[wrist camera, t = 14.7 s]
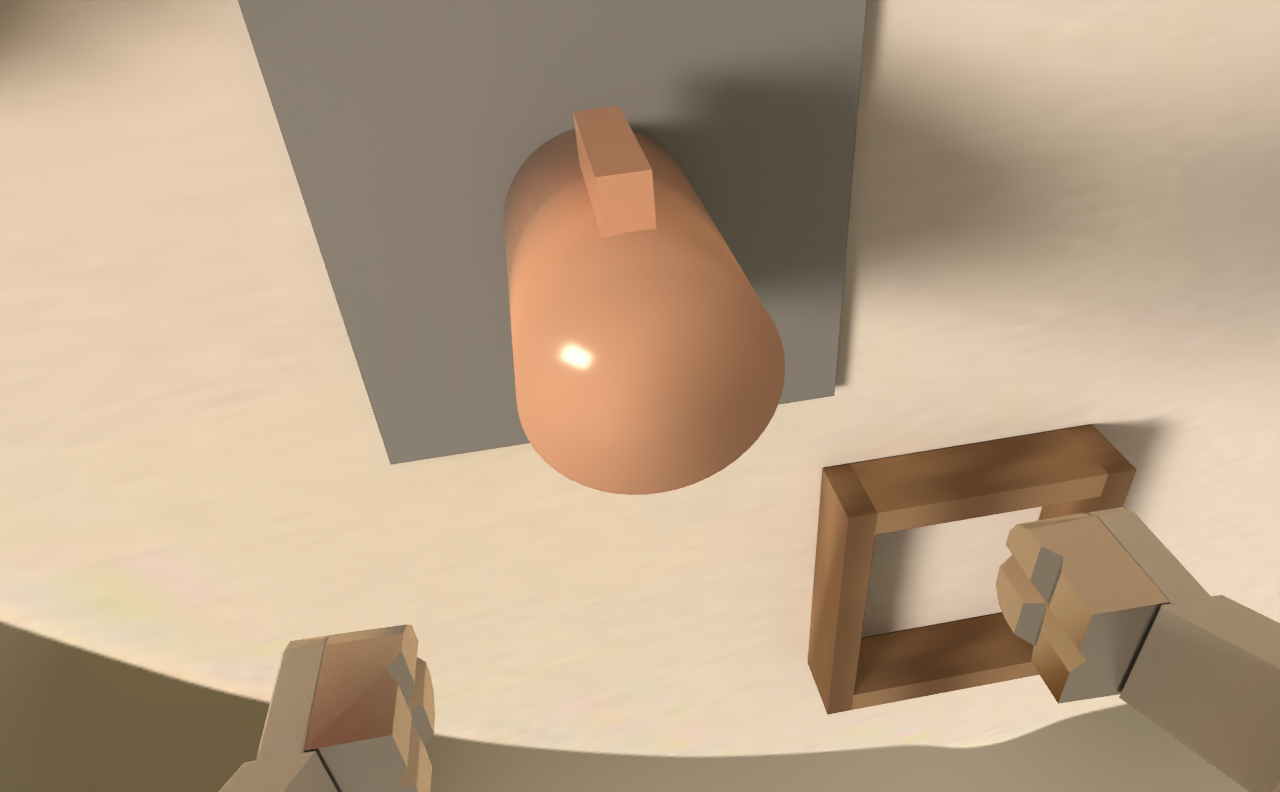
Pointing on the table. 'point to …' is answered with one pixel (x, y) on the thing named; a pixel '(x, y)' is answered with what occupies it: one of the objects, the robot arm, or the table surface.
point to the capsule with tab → (630, 316)
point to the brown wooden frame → (927, 495)
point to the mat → (518, 125)
